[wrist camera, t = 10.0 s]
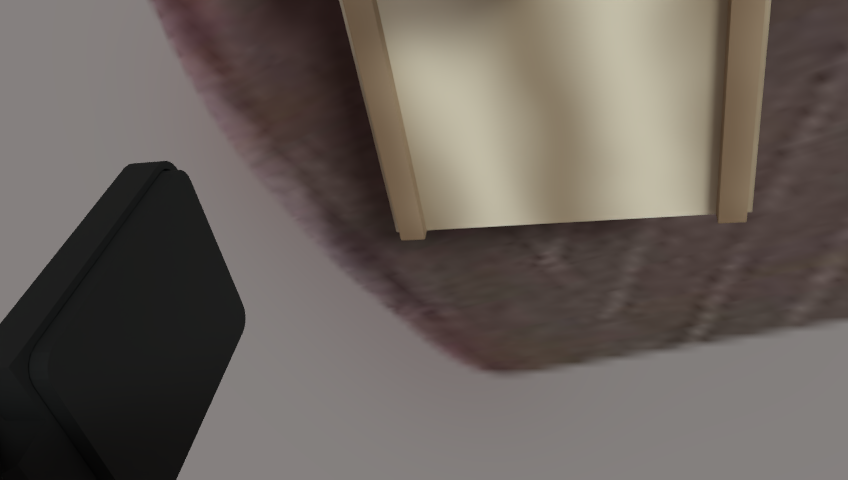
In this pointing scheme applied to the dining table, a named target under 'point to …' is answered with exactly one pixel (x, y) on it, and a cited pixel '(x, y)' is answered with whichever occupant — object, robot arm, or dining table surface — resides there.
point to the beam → (561, 108)
